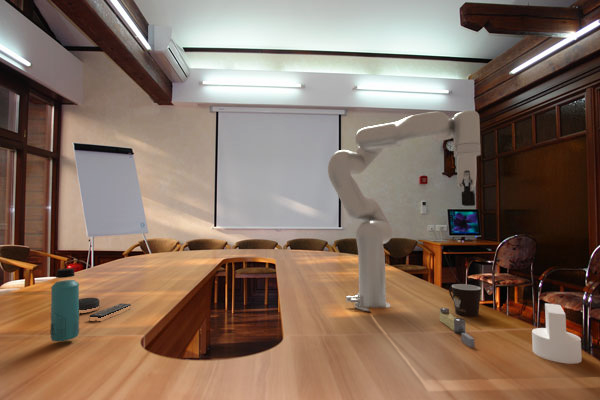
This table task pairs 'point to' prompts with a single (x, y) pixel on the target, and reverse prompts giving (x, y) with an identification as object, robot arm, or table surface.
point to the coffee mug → (466, 299)
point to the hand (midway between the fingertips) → (468, 205)
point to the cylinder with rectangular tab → (556, 338)
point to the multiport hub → (110, 310)
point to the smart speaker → (88, 303)
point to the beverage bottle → (64, 307)
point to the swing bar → (452, 321)
